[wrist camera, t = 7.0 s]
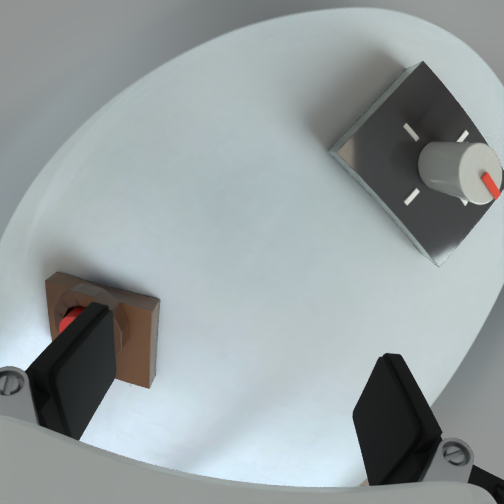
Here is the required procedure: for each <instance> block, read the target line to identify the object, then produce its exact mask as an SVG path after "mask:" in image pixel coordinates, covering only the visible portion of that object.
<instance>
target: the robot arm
mask: <svg viewBox="0 0 504 504" xmlns="http://www.w3.org/2000/svg"><path fill="white" fill-rule="evenodd" d="M116 372H117V368H116V355H115V339H114V317H113V311H112V310H109V306H108V305H105V304H101V303H98V302H91V303H90V304H89V305H88V306H87V307H86V308H85V309H84V310H83V311H82V312H81V313H80V314H79V315H78V316H77V317H76V318H75V319H74V320H73V321H72V322H71V323H70V324H69V325H68V326H67V327H66V328H65V329H64V330H63V331H62V332H61V333H60V334H59V335H58V336H57V337H56V338H55V339H54V340H53V342H52V343H51V344H50V345H49V346H48V347H47V348H46V349H45V350H44V351H43V352H42V353H41V354H40V355H39V356H38V357H37V358H36V360H35V361H34V362H33V363H32V364H31V365H30V366H29V367H28V368H27V370H26V371H25V372H24V371H23V370H21V369H20V368H17V367H13V366H6V367H2V368H0V504H504V480H502V479H500V478H498V477H496V476H494V475H492V474H490V473H489V472H486V471H485V470H483V469H480V468H479V467H477V466H475V465H473V462H474V454H473V451H472V449H471V448H470V447H469V445H468V444H467V443H465V442H463V441H462V440H460V439H457V438H446V439H444V440H442V438H441V434H442V430H441V428H440V426H439V425H438V422H437V421H436V419H435V417H434V415H433V413H432V411H431V409H430V407H429V405H428V403H427V401H426V399H425V397H424V395H423V394H422V392H421V390H420V388H419V386H418V384H417V382H416V381H415V379H414V377H413V375H412V373H411V372H410V370H409V368H408V366H407V364H406V363H405V361H404V359H403V357H402V356H401V355H400V354H391V353H385V354H384V355H383V357H379V358H378V360H377V362H376V364H375V367H374V369H373V371H372V373H371V375H370V378H369V380H368V382H367V384H366V386H365V388H364V390H363V392H362V394H361V396H360V398H359V400H358V402H357V404H356V406H355V408H354V410H353V421H354V425H355V429H356V433H357V437H358V441H359V445H360V449H361V453H362V457H363V461H364V465H365V469H366V473H367V477H368V482H369V486H361V487H295V486H278V485H266V484H256V483H247V482H239V481H232V480H225V479H219V478H213V477H207V476H201V475H196V474H191V473H186V472H182V471H177V470H173V469H168V468H164V467H160V466H156V465H152V464H149V463H145V462H141V461H138V460H134V459H131V458H128V457H125V456H121V455H118V454H115V453H112V452H109V451H106V450H103V449H100V448H97V447H94V446H92V445H89V444H86V443H83V442H81V441H79V440H80V438H81V436H82V434H83V432H84V431H85V429H86V427H87V425H88V424H89V422H90V420H91V418H92V417H93V415H94V413H95V411H96V410H97V408H98V406H99V405H100V403H101V401H102V399H103V398H104V396H105V394H106V393H107V391H108V389H109V388H110V386H111V384H112V382H113V381H114V379H115V377H116Z"/></svg>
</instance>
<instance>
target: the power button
mask: <svg viewBox="0 0 504 504" xmlns="http://www.w3.org/2000/svg"><path fill="white" fill-rule="evenodd" d="M84 309H85V308H84V307H78V308H74V309H73V310H72V311H71V312H70V313H69V314H68V315H67V316H65V317H64V318H63V319H62V321H61V322H60V325H59V333H61V332H62V331H63V330H64V329H65V328H66V327H67V326H68V325H69V324H70V323H71V322H72V321H73V320H74V319H75V318H76V317H77V316H78V315H79V314H80V313H81V312H82V311H83V310H84Z"/></svg>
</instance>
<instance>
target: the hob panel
mask: <svg viewBox="0 0 504 504" xmlns="http://www.w3.org/2000/svg"><path fill="white" fill-rule="evenodd" d="M433 141H454V142H476V143H484V144H486V145H488V144H487V142H486V141H485V139H484V138H483V136H482V135H481V133H480V132H479V130H478V129H477V127H476V126H475V125H474V123H473V122H472V120H471V119H470V118H469V116H468V115H467V114H466V112H465V111H464V109H463V108H462V107H461V106H460V104H459V103H458V102H457V100H456V99H455V98H454V97H453V95H452V94H451V93H450V92H449V90H448V89H447V88H446V87H445V85H444V84H443V83H442V82H441V81H440V80H439V78H438V77H437V76H436V75H435V74H434V73H433V71H432V70H431V69H430V68H429V67H428V66H427V65H426V64H425V63H424V61H422V62H420V63H418V64H416V65H414V66H412V67H409V68H407V69H406V70H405V71H404V72H403V73H402V74H401V75H400V76H399V77H398V79H397V80H396V81H395V82H394V83H393V84H392V85H391V86H390V87H389V88H388V89H387V90H386V91H385V92H384V93H383V94H382V95H381V96H380V97H379V98H378V99H377V100H376V101H375V103H374V104H373V105H372V106H371V107H370V108H369V109H368V110H367V111H366V112H365V113H364V114H363V115H362V116H361V117H360V118H359V119H358V120H357V121H356V123H355V124H354V125H353V126H352V127H351V128H350V129H349V130H348V131H347V132H346V133H345V134H344V135H343V136H342V137H341V138H340V139H339V140H338V142H337V143H336V144H335V145H334V146H333V147H332V148H331V149H330V150H329V151H328V153H329V154H330V155H331V156H332V157H333V158H334V159H335V160H336V161H337V162H338V163H339V164H341V165H342V166H343V167H344V168H345V169H346V170H347V171H348V172H349V173H350V174H351V175H352V177H353V178H354V179H355V180H356V181H357V182H358V183H359V184H360V185H361V186H362V187H363V188H364V189H365V190H366V191H367V192H368V193H369V194H370V195H371V196H372V197H373V198H374V199H375V201H376V202H377V203H378V204H379V205H380V206H381V207H382V208H383V209H384V210H385V211H386V213H387V214H388V215H389V216H390V217H391V218H392V219H393V220H394V222H395V223H396V224H397V225H398V226H399V227H400V228H401V230H402V231H403V232H404V233H405V234H406V235H407V237H408V238H409V239H410V240H411V241H412V242H413V244H414V245H415V246H416V247H417V248H418V250H419V251H420V252H421V253H422V255H424V256H425V257H426V258H427V259H429V260H430V261H431V262H432V263H434V264H435V265H436V266H437V267H440V265H441V264H442V263H443V262H444V261H445V260H446V259H447V258H448V257H449V256H450V254H451V253H452V252H453V251H454V250H455V249H456V248H457V247H458V245H459V244H460V243H461V242H462V241H463V240H464V238H465V237H466V236H467V235H468V234H469V232H470V231H471V230H472V229H473V228H474V226H475V225H476V224H477V223H478V222H479V220H480V219H481V218H482V217H483V215H484V214H485V213H486V212H487V210H488V209H489V208H490V206H491V205H492V204H493V202H494V201H495V200H496V199H493V200H492V201H490V202H488V203H486V204H483V205H477V204H474V203H471V202H468V201H465V200H463V199H460V198H457V197H454V196H451V195H448V194H445V193H442V192H439V191H436V190H433V189H431V188H429V187H428V186H427V185H426V184H425V183H424V182H423V181H422V179H421V177H420V174H419V170H418V159H419V156H420V153H421V151H422V149H423V148H424V147H425V146H426V145H427V144H429V143H430V142H433ZM488 146H489V145H488ZM501 167H502V166H501ZM503 189H504V170H503V168H502V182H501V186H500V189H499V191H500V192H502V190H503Z"/></svg>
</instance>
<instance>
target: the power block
mask: <svg viewBox="0 0 504 504" xmlns="http://www.w3.org/2000/svg"><path fill="white" fill-rule="evenodd" d="M45 285H46V296H47V306H48V315H49V323H50V330H51V337H52V342H53V340H54V339H55V338H56V337H57V336H58V335H59V334H60V333H59V325H60V322H61V321H62V319H63V318H64V317H65V316H67V315H68V314H69V313H70V312H71V311H72V310H73V309H74V308H78V307H84V308H86V307H87V306H88V305H89V304H90V303H91V302H98V303H101V304H105V305H108V306H109V310H112V311H113V317H114V339H115V355H116V368H117V372H116V377H115V379H118V380H121V381H125V382H128V383H131V384H135V385H138V386H141V387H145V388H148V389H150V387H151V385H152V382H153V380H154V378H155V376H156V354H157V336H158V321H159V307H160V299H156V298H152V297H148V296H144V295H140V294H136V293H132V292H128V291H124V290H120V289H116V288H113V287H109V286H105V285H101V284H98V283H94V282H91V281H87V280H83V279H80V278H76V277H73V276H70V275H66V274H63V273H59V272H56V273H55V274H53V275H52V276H51V277H49V278H48V279H46V280H45Z"/></svg>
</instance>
